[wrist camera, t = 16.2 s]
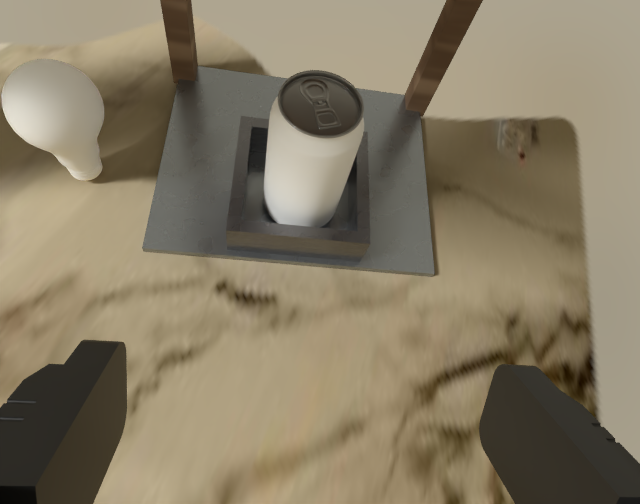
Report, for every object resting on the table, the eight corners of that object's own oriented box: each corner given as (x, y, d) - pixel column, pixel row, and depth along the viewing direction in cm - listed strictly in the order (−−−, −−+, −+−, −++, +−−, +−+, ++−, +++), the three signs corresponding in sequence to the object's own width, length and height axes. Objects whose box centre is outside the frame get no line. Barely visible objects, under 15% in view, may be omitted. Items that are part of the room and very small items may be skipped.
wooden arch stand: (432, 226, 42) (707, -120, 17) (148, 197, 39) (-9, -281, 14) (420, 94, 49) (604, -286, 24) (179, 60, 45) (108, -420, 21)
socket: (431, 276, 40) (451, 257, 36) (143, 251, 36) (133, 227, 33) (416, 101, 48) (430, 71, 45) (182, 68, 45) (177, 34, 42)
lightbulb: (50, 146, 39) (-13, 38, 29) (126, 142, 40) (90, 37, 31) (48, 208, 37) (-22, 112, 27) (128, 201, 38) (90, 108, 28)
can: (322, 164, 42) (350, 59, 31) (346, 224, 40) (385, 133, 29) (253, 177, 40) (258, 71, 30) (274, 241, 38) (288, 150, 27)
